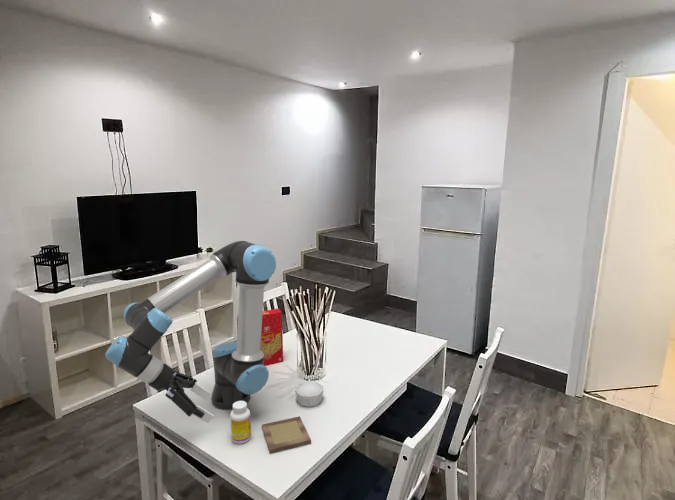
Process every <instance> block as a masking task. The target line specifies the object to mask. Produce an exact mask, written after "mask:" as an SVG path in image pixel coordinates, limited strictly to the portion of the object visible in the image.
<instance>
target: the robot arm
mask: <svg viewBox="0 0 675 500" xmlns="http://www.w3.org/2000/svg"><path fill="white" fill-rule="evenodd" d="M276 267H277V261H276V257H275V254H274V253H273V251H272V250H271V249H269V248H267V247H265V246H264V245H261V244H257V243H252V242H249V241H246V240H237V241H233V242H231V243H229V244H227V245H225V246H223V247H221V248H220V249H218V250H217V251H215V252H214V253H212V254H210V256H209V259H207V260H205V262H202V263H201V264H199V265H198V266H196V267H195V268H193V269H192V270H190V271H189V272H187V273H186V274H184V275H181V277H179V278H177V279H176V280H174V281H172V282H171V283H170V284H168V285H167V286H165V287H163V288H162V289H160V290H158V291H156V292H155V293H154V294H152V295H150V296H149V297H147V298H146V299H144V300H143V301H142V302H133V303H132V302H131V303H130V304H128V305H127V306H126V307H125V308H124V311H123V315H122V316H123V319H124V321H125V322H126V325H127V326H129V327H130V328H131V329H133V331H132V332H131V333H130V335H129V336H127V337H126V336H118V337H117V338H116V339H115V340H114V341H113V343H111V345H110V346H109V347H108V348H107V350H106V352H105V356H104V357H105V359H106V360H108V361H109V362H110V363H112V364H114V365H115V366H116V367H117V368H119V369H121V370H123V371H125V372H126V373H128V374H130V375H131V376H133V377H135V378H136V380H137V381H141V382H143V383H145V384H147V385H148V386H149V387H151V388H153V389H154V390H156V391H161V390H162V389H165V391H166V393H165V397H166V398H168V399H169V400H170V401H172V402H173V403H174V404H175V406H177V407H178V408H179V409H180V410H181V411H182V412H183V413H184V414H185V415H187V416H188V417H189V418H190V417H191V416H192V415H194V416H196V417H197V418H198V419H199V420H201V421H204V422H205V423H206V424H210V422H211V421H212V420H213V419H214V418H215V415H214V414H212V413H211V412H210V411H208V410H206V409H205V408H204V407H201V406H200V405H198V404H197V405H196V404H195V403H194V402H193V400H191V398H190V397H189V396H188V395H187V394H186V392H185V389H190V390H189V391H190V392H192V393H194V394H196V395H197V396H198V397H200V398H202V399H203V400H205V401H206V400H207V399H208V398H210V396H211V404H212V405H213V406H214V407H215V408H217V409H220V410H233V404H234V403H235V402H237V401H245V402H246V403H247V404H248V402H249V401H250V400H251V397H252V396H251V395H253V394H257V393H258V392H260V391H261V390H262V389H263V387H265V385H267V383H268V380H269V375H270V371H269V370H268V368H267V366H264V353H263V352H262V351H261V350H260V346H261V330H262V314H263V311H264V310H263V309H264V296H265V294H264V293H265V287H266V286H267V285H268V284H270V283H269V282H270V278H271V277H272V276H273V274H275V271H276V269H277V268H276ZM232 273H235V283H236V284H237V285H238V286H239V295H238V309H237V310H238V312H237V313H238V314H237V329H236V330H237V331H236V332H237V333H236V341H229V342H228V341H227V342H223V343H220V344H218V345H217V346H215V347H214V348H213V351H212V359H213V369H214V370H213V371H214V382H215V383H214V386H213V389H212V392H210V391H209V390H207V389H205V388H204V387H202V386H201V385H199V384H198V383H197V382H198V380H197V379H196V378H194V377H192V376H190V375H187V374H184V373H181V372H178V371H177V370H174V368H173V367H171V366H170V365H168V364H166V363H164V362H163V361H162V360H161V359H160V358H158V357H156V356H155V355H153V354H151V353H150V351H152V348H154V346H155V345H156V344H157V343H158V342H159V340H160V339H161V338H162V337H163V336H164V334H165V333H166V332H167V331H168V329H169V328H170V327H171V326H172V324H173V319H172V318H171V317H170V316H169V315H167V314H166V313H168V312H169V311H171V310H172V309H174V308H176V307H178V306H179V305H180V304H181V303H183V302H185V301H187V300H188V299H189V298H190V297H192V296H193V295H195V294H196V293H198V292H200V291H201V290H203V289H204V288H206V287H207V286H209V285H210V284H212V283H214V281H216V280H218V279H219V278H221V277H227V276H229V275H230V274H232Z"/></svg>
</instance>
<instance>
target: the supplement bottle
mask: <svg viewBox="0 0 675 500" xmlns="http://www.w3.org/2000/svg"><path fill="white" fill-rule="evenodd" d="M229 417H230V418H229V420H230V433H231V434H230V437H231V441H232V443H234V444H244V443H247V442H249V440H250V439H251V438H252V427H251V426H252V425H251V423H252V422H251V411H250V409H249V408H248V402H247V403H246V402H245V401H237V402H235V403H234V404H233V409H231V412H230V414H229Z"/></svg>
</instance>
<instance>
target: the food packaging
mask: <svg viewBox="0 0 675 500" xmlns="http://www.w3.org/2000/svg"><path fill="white" fill-rule="evenodd" d="M283 334H284V333H283V312H282V311H281V309H280V308H274V309H273V308H271V309H267V310H263V314H262V330H261V346H260V350H261V351H262V352H263V353H264V366H265V367H267V366H271V365H275V364H279V363H284V341H283V337H284V335H283Z"/></svg>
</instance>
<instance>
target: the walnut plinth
mask: <svg viewBox="0 0 675 500" xmlns="http://www.w3.org/2000/svg"><path fill="white" fill-rule="evenodd" d="M261 430H262V434H263V436H264V439H265V442H266V445H267V449H268V453H269V454H275V453H278V452H283V451H287V450H291V449H294V448H296V449H297V448H298V447H299V448H300V447H303V446H307V445H311V444H312V439H311V437H310V435H309V433H308V431H307V428H306V426H305V425H304V422H303V420H302V417H301V416H294V417H290V418H285V419H280V420H277V421H272V422H267V423H263V424H261Z"/></svg>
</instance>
